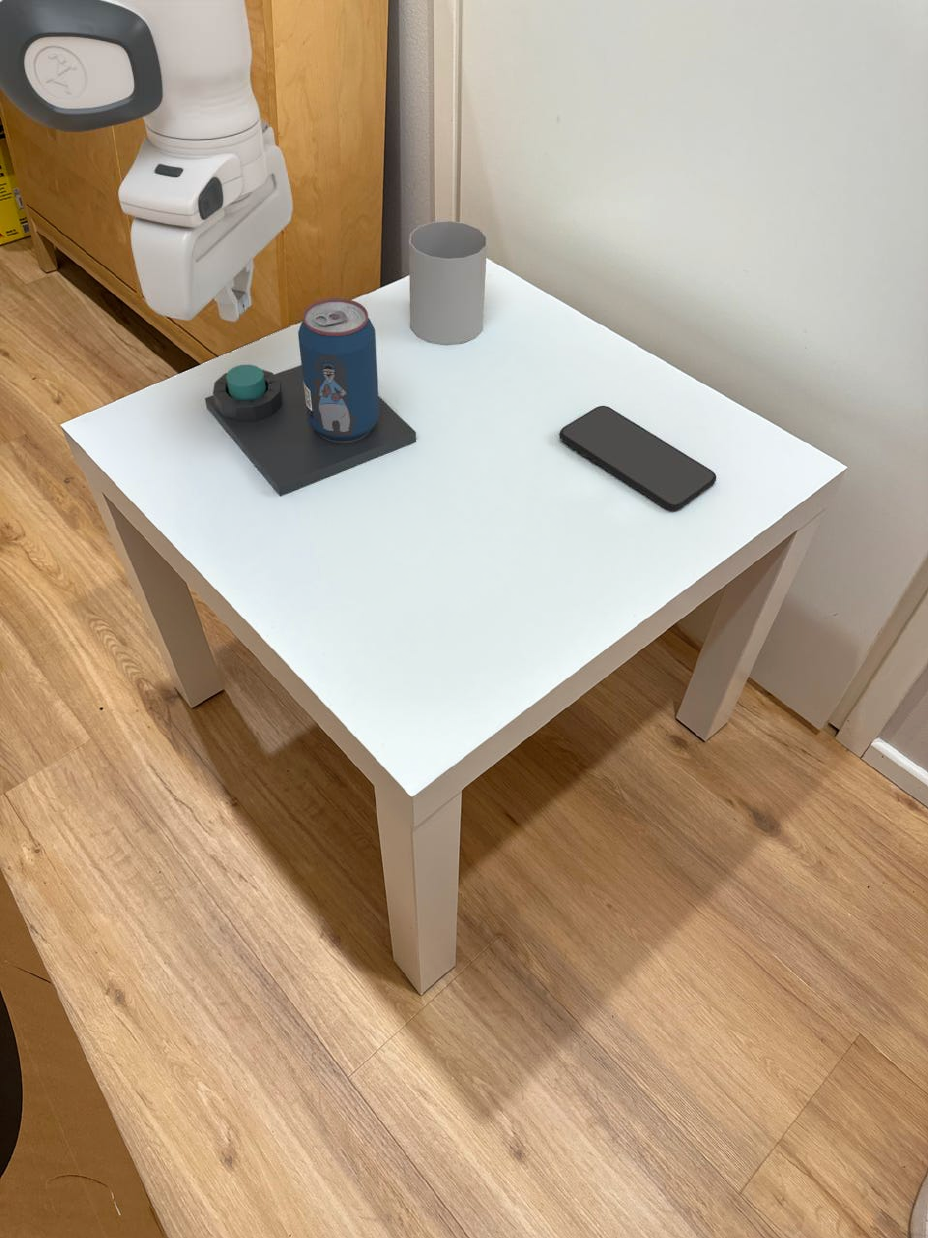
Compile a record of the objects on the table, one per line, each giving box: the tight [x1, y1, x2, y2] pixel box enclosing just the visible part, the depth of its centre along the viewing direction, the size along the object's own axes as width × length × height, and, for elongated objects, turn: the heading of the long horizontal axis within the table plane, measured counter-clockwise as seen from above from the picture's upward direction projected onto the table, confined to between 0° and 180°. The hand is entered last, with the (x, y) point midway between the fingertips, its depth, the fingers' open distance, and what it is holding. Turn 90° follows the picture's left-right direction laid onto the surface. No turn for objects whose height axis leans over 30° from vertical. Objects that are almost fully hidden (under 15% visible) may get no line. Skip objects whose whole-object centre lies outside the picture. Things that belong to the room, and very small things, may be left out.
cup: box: [408, 220, 488, 346], centre depth 100 cm, size 8×8×10 cm
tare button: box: [226, 364, 266, 400], centre depth 90 cm, size 4×4×2 cm
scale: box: [204, 364, 417, 497], centre depth 90 cm, size 15×16×3 cm
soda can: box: [297, 297, 379, 443], centre depth 85 cm, size 7×7×12 cm
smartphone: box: [558, 405, 717, 512], centre depth 89 cm, size 7×1×15 cm
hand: (236, 313), depth 83 cm, fingers closed
